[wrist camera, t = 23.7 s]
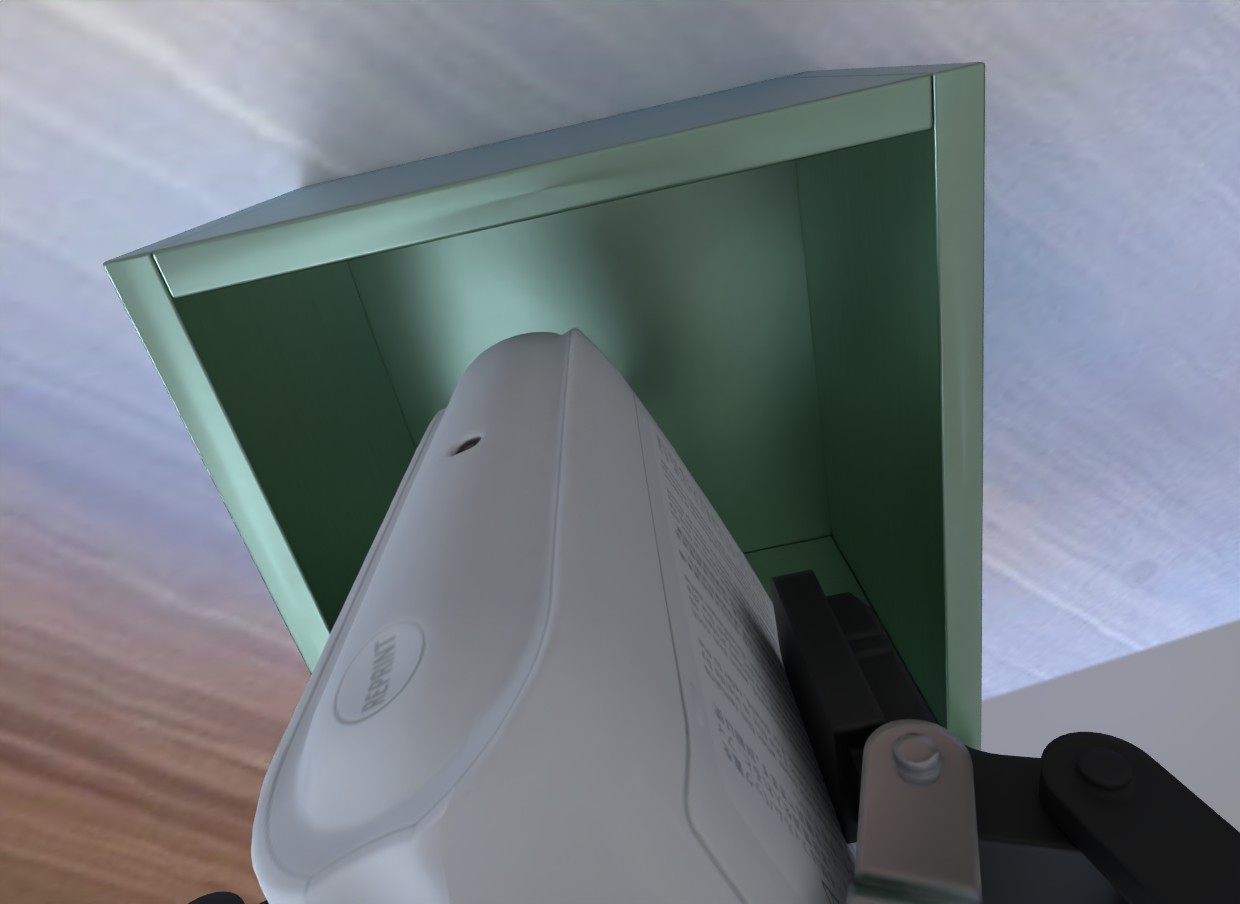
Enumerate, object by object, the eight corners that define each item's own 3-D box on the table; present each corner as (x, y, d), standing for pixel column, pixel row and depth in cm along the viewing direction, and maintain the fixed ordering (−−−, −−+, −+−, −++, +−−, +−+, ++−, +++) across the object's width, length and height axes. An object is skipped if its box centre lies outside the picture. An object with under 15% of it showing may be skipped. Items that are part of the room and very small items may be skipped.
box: (299, 187, 23) (100, 262, 14) (808, 70, 23) (986, 60, 13) (461, 616, 31) (407, 865, 21) (849, 537, 30) (982, 757, 20)
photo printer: (402, 393, 16) (-2, 1109, 5) (574, 282, 15) (564, 840, 4) (654, 698, 20) (750, 1471, 9) (800, 625, 19) (1108, 1376, 8)
